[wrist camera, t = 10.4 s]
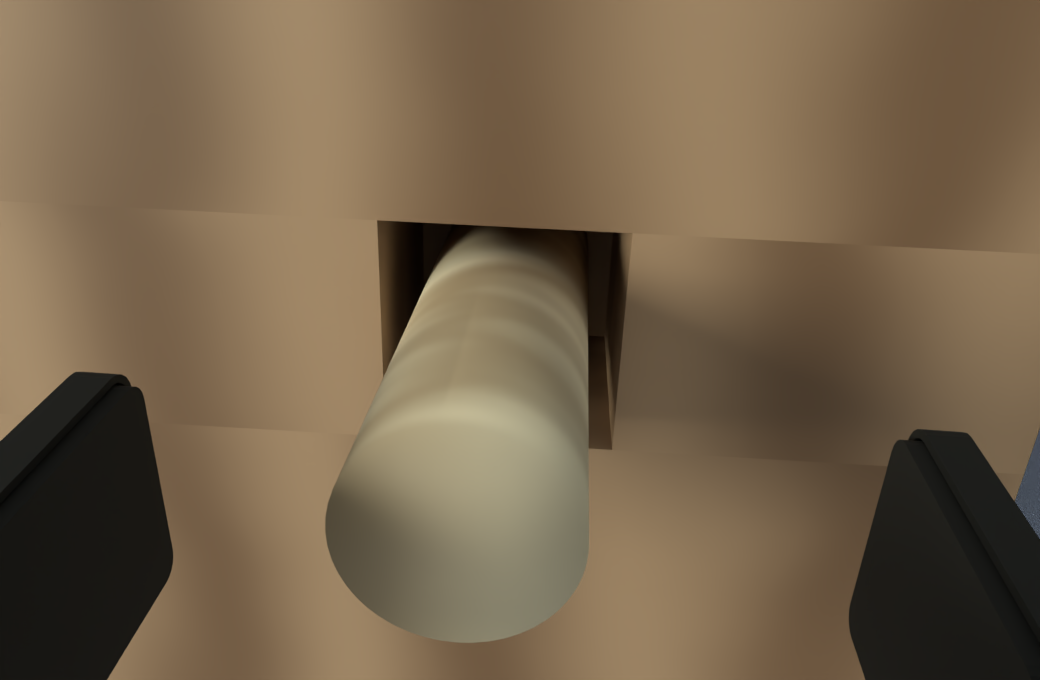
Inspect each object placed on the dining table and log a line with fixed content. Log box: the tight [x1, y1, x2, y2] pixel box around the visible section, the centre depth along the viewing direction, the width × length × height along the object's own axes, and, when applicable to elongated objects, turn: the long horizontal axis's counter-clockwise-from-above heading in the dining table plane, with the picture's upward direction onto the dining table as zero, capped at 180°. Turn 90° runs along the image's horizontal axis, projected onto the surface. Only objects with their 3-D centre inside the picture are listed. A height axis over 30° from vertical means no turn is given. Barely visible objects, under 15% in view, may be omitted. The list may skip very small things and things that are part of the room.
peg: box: [325, 224, 589, 643], centre depth 16 cm, size 3×3×11 cm
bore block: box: [0, 0, 1040, 680], centre depth 19 cm, size 20×20×6 cm
